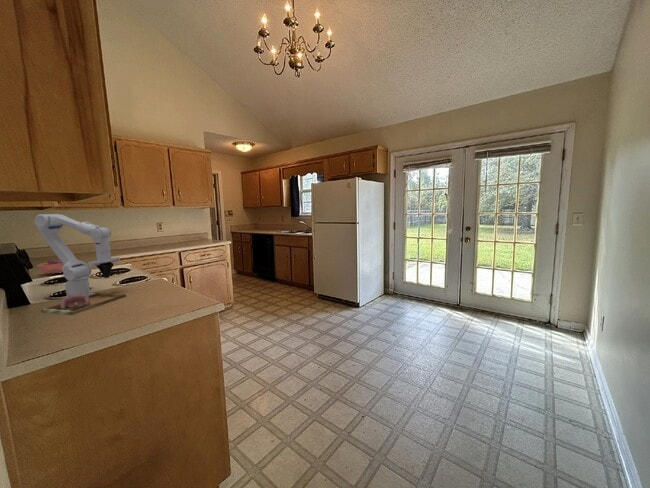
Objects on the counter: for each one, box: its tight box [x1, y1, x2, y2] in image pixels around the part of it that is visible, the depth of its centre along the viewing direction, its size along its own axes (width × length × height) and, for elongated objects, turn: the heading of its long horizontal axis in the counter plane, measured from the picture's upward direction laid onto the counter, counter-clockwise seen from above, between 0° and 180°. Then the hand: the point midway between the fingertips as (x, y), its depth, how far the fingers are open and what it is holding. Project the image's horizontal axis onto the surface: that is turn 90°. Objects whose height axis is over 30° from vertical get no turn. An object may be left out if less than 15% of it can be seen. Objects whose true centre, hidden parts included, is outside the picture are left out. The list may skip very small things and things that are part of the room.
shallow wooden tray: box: [40, 292, 127, 316], centre depth 128 cm, size 18×24×1 cm
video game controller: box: [60, 294, 91, 310], centre depth 124 cm, size 10×5×7 cm, turn 128°
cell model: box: [36, 260, 64, 275], centre depth 197 cm, size 17×20×11 cm
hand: (106, 277), depth 140 cm, fingers closed
